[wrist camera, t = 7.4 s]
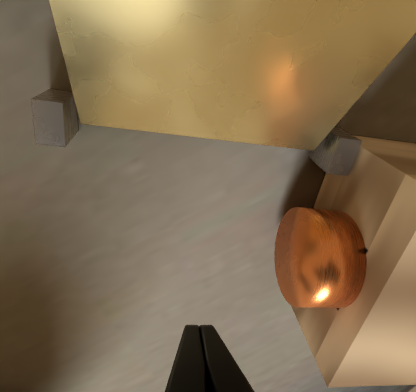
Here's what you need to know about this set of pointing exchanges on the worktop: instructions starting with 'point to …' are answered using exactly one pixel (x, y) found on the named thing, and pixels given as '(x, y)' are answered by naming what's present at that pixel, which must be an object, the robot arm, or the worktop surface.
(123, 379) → the worktop surface
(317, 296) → the hitch pin
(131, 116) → the plate
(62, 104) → the keeper bracket
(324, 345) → the block
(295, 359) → the worktop surface
